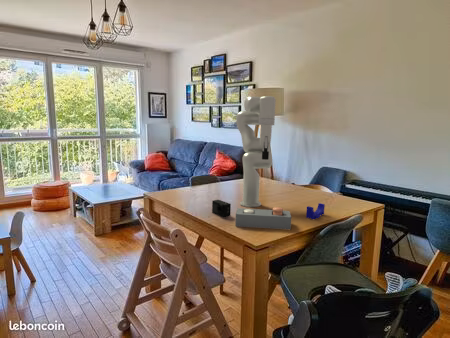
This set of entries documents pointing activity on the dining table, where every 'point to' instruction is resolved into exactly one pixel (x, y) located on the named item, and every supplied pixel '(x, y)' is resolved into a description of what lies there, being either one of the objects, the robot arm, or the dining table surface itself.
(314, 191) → the dining table surface
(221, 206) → the digital camera
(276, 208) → the terracotta plug
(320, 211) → the blue curved block
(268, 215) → the block
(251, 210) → the plug
